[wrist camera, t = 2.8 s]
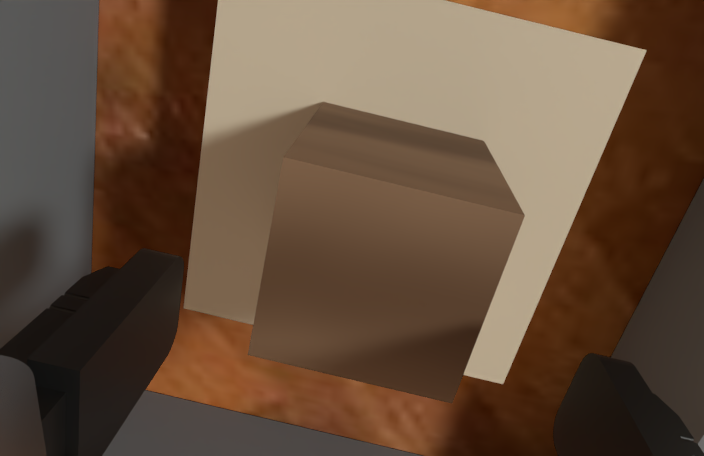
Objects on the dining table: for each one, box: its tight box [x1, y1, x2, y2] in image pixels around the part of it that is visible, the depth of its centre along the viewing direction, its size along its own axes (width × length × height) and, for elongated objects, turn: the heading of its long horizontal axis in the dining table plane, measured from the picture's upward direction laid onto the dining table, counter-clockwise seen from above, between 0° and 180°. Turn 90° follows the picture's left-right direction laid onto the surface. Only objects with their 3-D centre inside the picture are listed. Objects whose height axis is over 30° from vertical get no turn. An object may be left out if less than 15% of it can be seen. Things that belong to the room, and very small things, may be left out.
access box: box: [0, 0, 704, 456], centre depth 17 cm, size 30×25×6 cm
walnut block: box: [248, 102, 525, 403], centre depth 15 cm, size 5×5×6 cm
